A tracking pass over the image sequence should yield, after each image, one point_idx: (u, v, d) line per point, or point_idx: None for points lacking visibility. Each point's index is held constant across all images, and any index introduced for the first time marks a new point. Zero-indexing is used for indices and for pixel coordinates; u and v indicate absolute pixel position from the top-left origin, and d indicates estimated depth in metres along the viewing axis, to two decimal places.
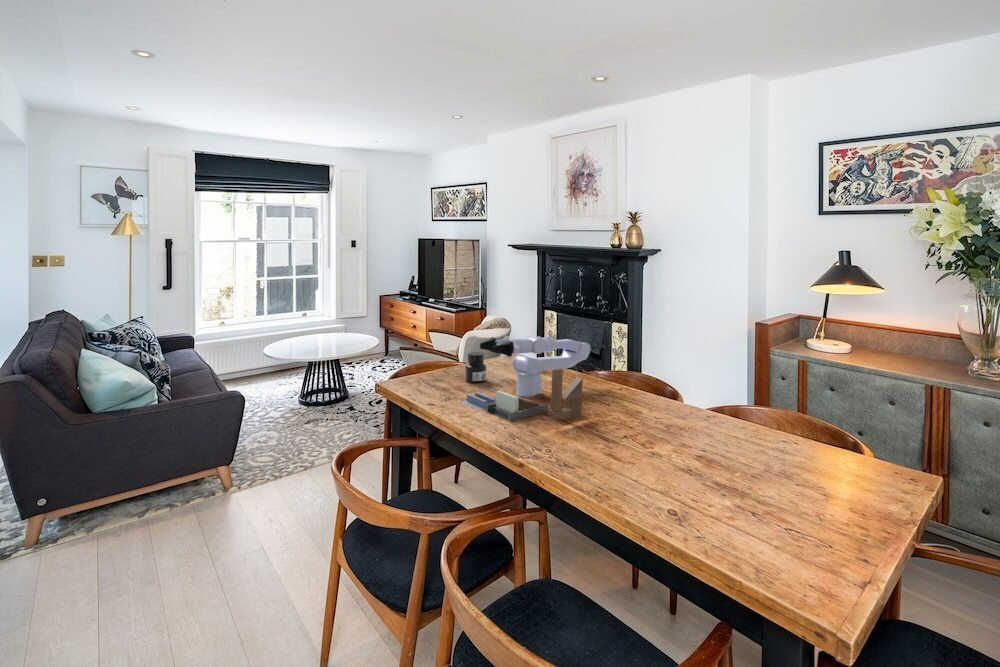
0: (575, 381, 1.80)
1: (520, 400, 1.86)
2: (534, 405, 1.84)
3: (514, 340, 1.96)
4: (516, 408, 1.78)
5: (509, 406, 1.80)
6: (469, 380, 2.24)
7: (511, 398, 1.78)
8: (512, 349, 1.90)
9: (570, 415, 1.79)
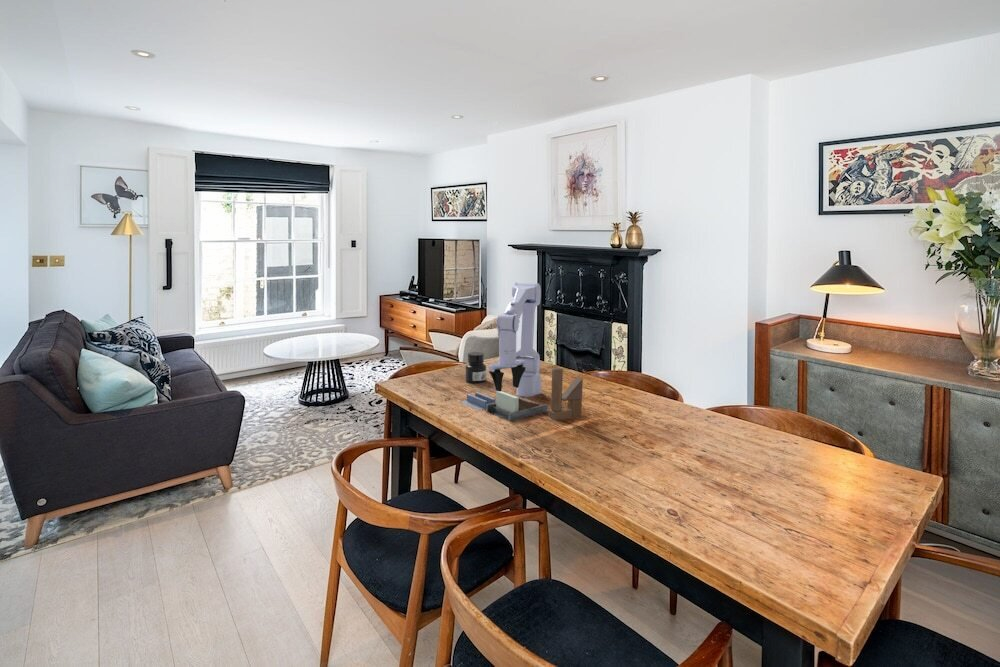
0: (575, 381, 1.80)
1: (520, 400, 1.86)
2: (534, 405, 1.84)
3: (515, 356, 1.77)
4: (516, 408, 1.78)
5: (509, 406, 1.80)
6: (469, 380, 2.24)
7: (511, 398, 1.78)
8: None
9: (570, 415, 1.79)
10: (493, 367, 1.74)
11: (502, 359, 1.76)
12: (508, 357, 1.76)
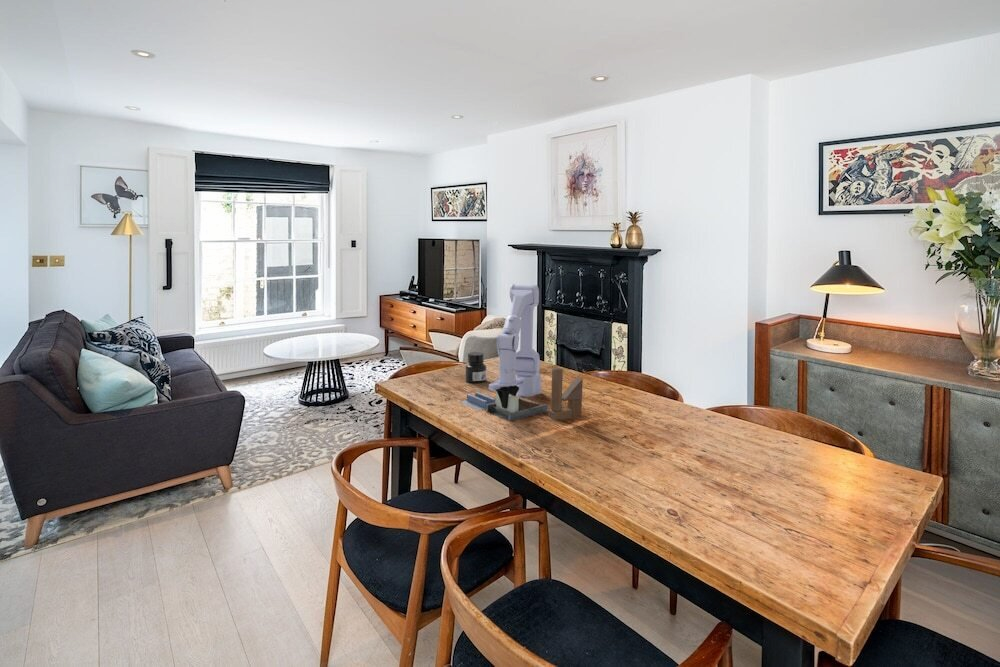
0: (575, 381, 1.80)
1: (520, 400, 1.86)
2: (534, 405, 1.84)
3: (515, 375, 1.79)
4: (516, 408, 1.78)
5: (509, 406, 1.80)
6: (469, 380, 2.24)
7: (511, 398, 1.78)
8: None
9: (570, 415, 1.79)
10: (493, 386, 1.75)
11: (502, 378, 1.78)
12: (507, 376, 1.77)
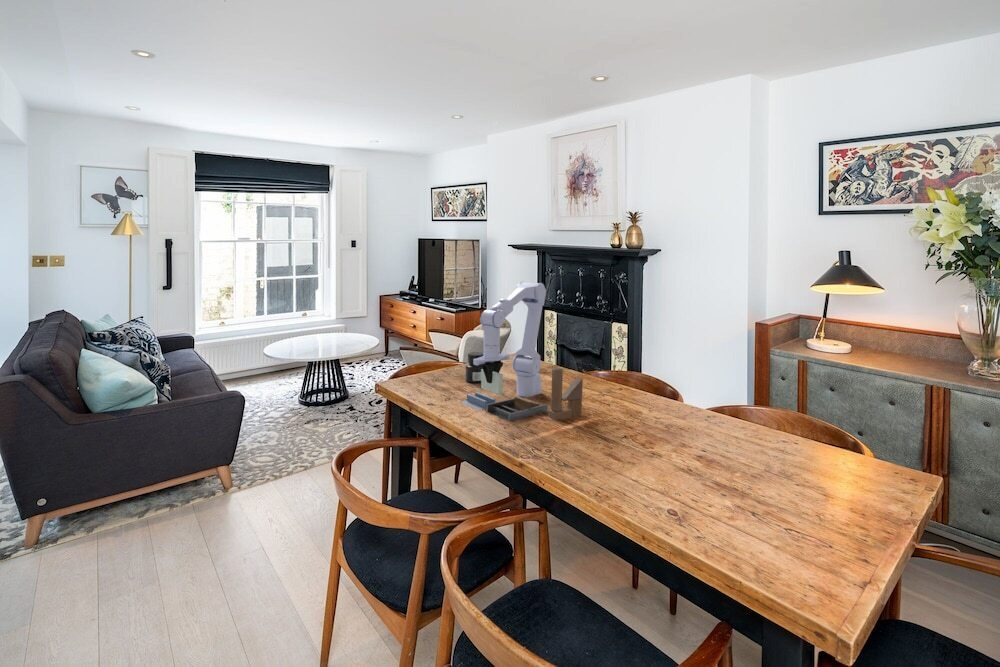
0: (575, 381, 1.80)
1: (520, 400, 1.86)
2: (534, 405, 1.84)
3: (499, 350, 1.84)
4: (500, 385, 1.83)
5: (493, 383, 1.85)
6: (469, 380, 2.24)
7: (495, 375, 1.84)
8: None
9: (570, 415, 1.79)
10: (477, 361, 1.81)
11: (486, 353, 1.83)
12: (491, 351, 1.82)
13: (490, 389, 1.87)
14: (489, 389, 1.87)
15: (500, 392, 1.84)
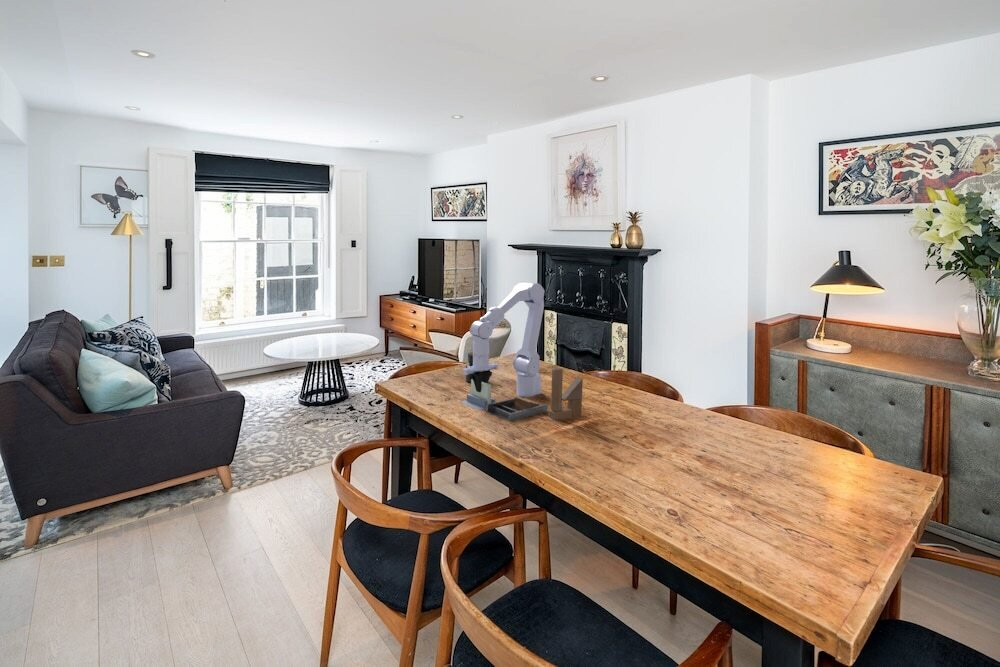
0: (575, 381, 1.80)
1: (520, 400, 1.86)
2: (534, 405, 1.84)
3: (488, 360, 1.90)
4: (489, 395, 1.89)
5: (482, 393, 1.91)
6: (469, 380, 2.24)
7: (484, 386, 1.89)
8: None
9: (570, 415, 1.79)
10: (467, 371, 1.86)
11: (475, 363, 1.89)
12: (480, 361, 1.88)
13: None
14: None
15: (488, 402, 1.89)
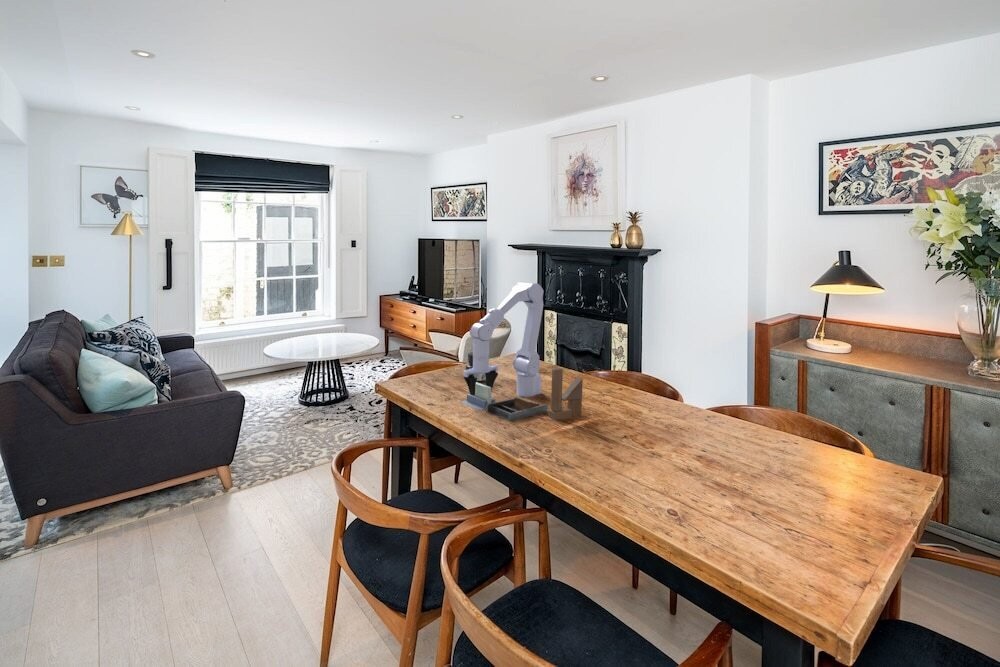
0: (575, 381, 1.80)
1: (520, 400, 1.86)
2: (534, 405, 1.84)
3: (488, 362, 1.90)
4: (489, 398, 1.89)
5: (482, 396, 1.91)
6: None
7: (484, 388, 1.89)
8: None
9: (570, 415, 1.79)
10: (467, 373, 1.86)
11: (475, 365, 1.89)
12: (480, 363, 1.88)
13: None
14: None
15: None
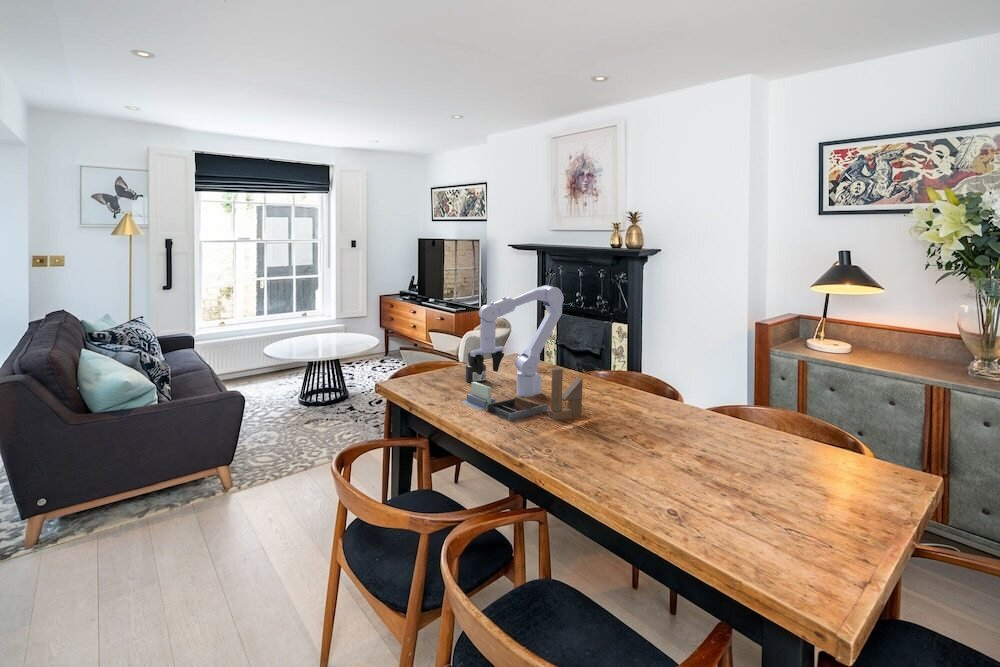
0: (575, 381, 1.80)
1: (520, 400, 1.86)
2: (534, 405, 1.84)
3: (494, 343, 1.97)
4: (489, 398, 1.89)
5: (482, 396, 1.91)
6: (469, 380, 2.24)
7: (484, 388, 1.89)
8: None
9: (570, 415, 1.79)
10: (474, 352, 1.94)
11: (482, 345, 1.96)
12: (487, 344, 1.95)
13: None
14: None
15: None
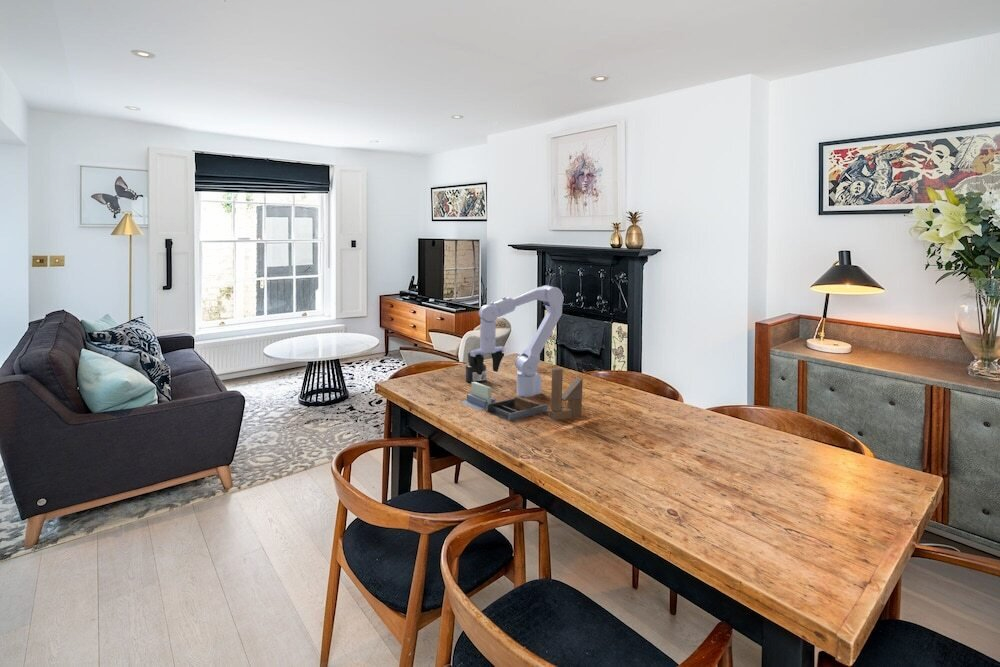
0: (575, 381, 1.80)
1: (520, 400, 1.86)
2: (534, 405, 1.84)
3: (494, 343, 1.97)
4: (489, 398, 1.89)
5: (482, 396, 1.91)
6: (469, 380, 2.24)
7: (484, 388, 1.89)
8: None
9: (570, 415, 1.79)
10: (474, 352, 1.94)
11: (482, 345, 1.96)
12: (487, 344, 1.95)
13: None
14: None
15: None
